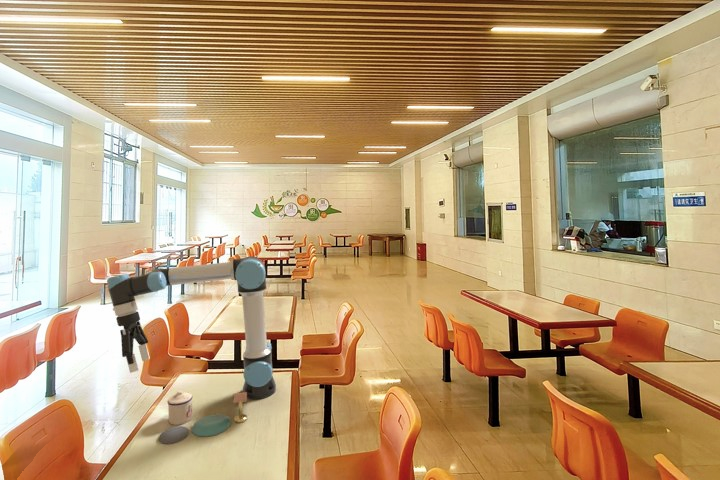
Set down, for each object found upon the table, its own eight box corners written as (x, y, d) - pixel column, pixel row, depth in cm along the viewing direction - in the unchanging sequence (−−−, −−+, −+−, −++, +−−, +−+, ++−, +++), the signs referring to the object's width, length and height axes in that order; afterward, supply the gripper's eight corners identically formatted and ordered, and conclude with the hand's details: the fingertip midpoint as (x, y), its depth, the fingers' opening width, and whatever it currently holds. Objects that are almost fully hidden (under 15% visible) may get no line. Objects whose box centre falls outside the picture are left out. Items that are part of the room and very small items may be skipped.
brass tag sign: (247, 415, 151) (246, 389, 150) (247, 421, 146) (247, 394, 146) (234, 417, 149) (233, 391, 149) (234, 424, 145) (233, 396, 144)
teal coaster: (230, 413, 152) (230, 411, 152) (230, 432, 139) (230, 430, 139) (193, 420, 147) (193, 418, 147) (190, 440, 134) (190, 438, 134)
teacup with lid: (191, 423, 145) (190, 395, 145) (166, 427, 142) (165, 398, 142) (195, 408, 157) (194, 382, 156) (171, 411, 154) (170, 385, 153)
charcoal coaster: (190, 426, 143) (190, 424, 143) (187, 440, 134) (187, 438, 134) (161, 431, 140) (161, 429, 140) (156, 446, 131) (156, 444, 131)
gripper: (128, 310, 154) (141, 358, 155) (102, 323, 130) (117, 380, 131) (147, 305, 156) (159, 353, 157) (125, 317, 131) (140, 373, 132)
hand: (140, 365), depth 144 cm, fingers open, 13 cm apart
